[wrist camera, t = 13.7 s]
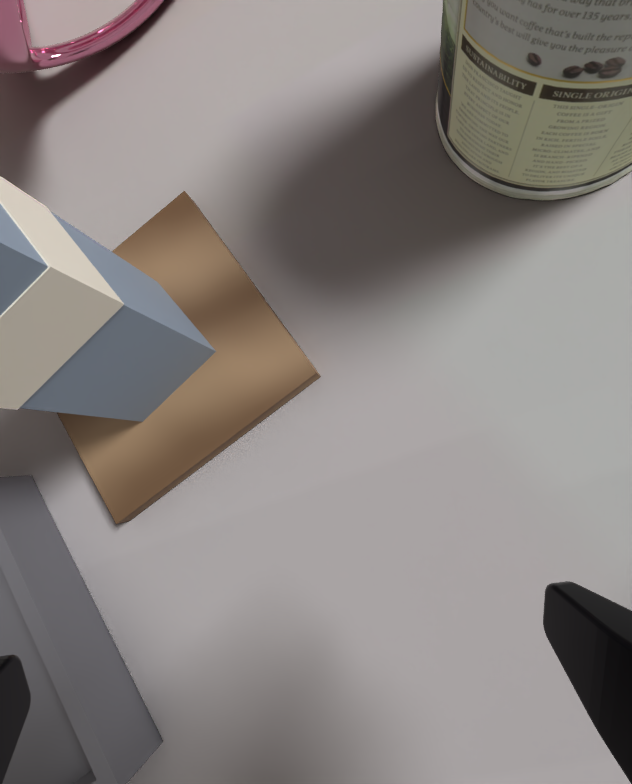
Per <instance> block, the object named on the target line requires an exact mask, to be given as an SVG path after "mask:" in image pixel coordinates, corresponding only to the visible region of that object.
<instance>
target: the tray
mask: <svg viewBox="0 0 632 784" xmlns="http://www.w3.org/2000/svg"><path fill="white" fill-rule="evenodd" d="M5 655H17V656H18V657H19V658H20V659H21V662H22V665H23V669H24V672H25V675H26V679H27V682H28V685H29V689H30V693H31V704H30V709H29V712H28V715H27V718H26V720H25V723H24V726H23V729H22V731H21V734H20V737H19V740H18V742H17V745H16V748H15V751H14V753H13V756H12V759H11V762H10V764H9V767H8V770H7V773H6V775H5V778H4V781H3V784H126V783H127V782H128V781H129V780H130V779H131V778H132V777H133V775H134V774H135V773H136V772H137V771H138V770H139V769H140V767H141V766H142V765H143V764H144V763H145V762H146V760H147V759H148V758H149V757H150V756H151V755H152V754H153V752H154V751H155V750H156V749H157V748H158V747H159V746H160V744H161V743H162V742H163V740H162V738H161V736H160V734H159V732H158V730H157V728H156V726H155V724H154V722H153V720H152V718H151V716H150V714H149V712H148V710H147V708H146V706H145V704H144V702H143V700H142V698H141V696H140V694H139V692H138V690H137V688H136V686H135V683H134V681H133V679H132V677H131V675H130V673H129V671H128V669H127V667H126V665H125V663H124V661H123V659H122V657H121V655H120V653H119V651H118V649H117V647H116V645H115V643H114V641H113V639H112V637H111V635H110V633H109V631H108V629H107V627H106V625H105V623H104V621H103V619H102V617H101V615H100V613H99V611H98V609H97V607H96V605H95V603H94V601H93V599H92V597H91V595H90V593H89V591H88V589H87V587H86V585H85V583H84V581H83V579H82V577H81V575H80V573H79V571H78V569H77V567H76V565H75V563H74V561H73V559H72V557H71V555H70V552H69V550H68V548H67V546H66V544H65V542H64V540H63V538H62V536H61V534H60V532H59V530H58V528H57V526H56V524H55V522H54V520H53V518H52V516H51V514H50V512H49V510H48V508H47V506H46V504H45V502H44V500H43V498H42V496H41V494H40V492H39V490H38V488H37V486H36V484H35V482H34V480H33V478H32V476H31V475H28V476H12V477H0V656H5Z"/></svg>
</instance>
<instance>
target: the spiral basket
mask: <svg viewBox="0 0 632 784" xmlns="http://www.w3.org/2000/svg"><path fill="white" fill-rule="evenodd" d="M164 1H165V0H135V1H134V2H133V3H132V4H131V5H130V6H129V7H128V8H126V9H125V10H124V11H123V12H122V13H120V14H119V15H118V16H116V17H115V18H113V19H112V20H110V21H109V22H107V23H106V24H104V25H102V26H101V27H99V28H97V29H95V30H93V31H91V32H89V33H87V34H85V35H82V36H80V37H77V38H75V39H72V40H69V41H66V42H62V43H58V44H54V45H49V46H42V47H32V42H31V37H30V31H29V26H28V21H27V16H26V11H25V6H24V1H23V0H0V73H22V72H31V71H37V70H43V69H48V68H53V67H58V66H62V65H65V64H69V63H72V62H76V61H79V60H82V59H84V58H87V57H90V56H92V55H94V54H97V53H99V52H101V51H103V50H105V49H107V48H109V47H110V46H112V45H114V44H116V43H117V42H119V41H120V40H122V39H123V38H125V37H126V36H128V35H129V34H130V33H132V32H133V31H134V30H136V29H137V28H138V27H139V26H140V25H142V24H143V23H144V22H145V21H146V20H147V19H148V18H149V17H150V16H151V15H152V14H153V13H154V12H155V11H156V10H157V9H158V8H159V7H160V5H161V4H162V3H163V2H164Z"/></svg>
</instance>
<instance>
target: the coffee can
mask: <svg viewBox="0 0 632 784" xmlns="http://www.w3.org/2000/svg"><path fill="white" fill-rule="evenodd" d="M436 123H437V127H438V132H439V135H440V138H441V141H442V143H443V146H444V148H445V150H446V152H447V154H448V155H449V157H450V158H451V159H452V161H453V162H454V163H455V164H456V165H457V166H458V167H459V169H460V170H461V171H462V172H464V173H465V174H466V175H467V176H468V177H470V178H471V179H472V180H474V181H475V182H477V183H479V184H480V185H482V186H484V187H486V188H488V189H490V190H492V191H495V192H497V193H500V194H503V195H506V196H509V197H513V198H519V199H532V200H556V199H564V198H570V197H574V196H579V195H582V194H586V193H589V192H592V191H594V190H597V189H599V188H601V187H604V186H607V185H609V184H612V183H613V182H615V181H617V180H618V179H619V178H621V177H622V176H624V175H626V174H627V173H629V172H631V171H632V0H443V13H442V28H441V47H440V63H439V82H438V90H437V96H436Z"/></svg>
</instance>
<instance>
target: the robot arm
mask: <svg viewBox="0 0 632 784" xmlns="http://www.w3.org/2000/svg"><path fill="white" fill-rule="evenodd" d="M543 625H544V630H545V633H546V636H547V638H548V640H549V642H550V644H551V646H552V648H553V649H554V651H555V653H556V655H557V657H558V659H559V661H560V662H561V664H562V666H563V668H564V670H565V672H566V674H567V676H568V677H569V679H570V681H571V683H572V685H573V687H574V689H575V691H576V692H577V694H578V696H579V698H580V700H581V702H582V704H583V706H584V707H585V709H586V711H587V713H588V715H589V717H590V718H591V720H592V722H593V724H594V725H595V727H596V729H597V731H598V732H599V734H600V736H601V737H602V739H603V740H604V742H605V744H606V745H607V747H608V748H609V750H610V751H611V753H612V755H613V756H614V758H615V759H616V761H617V762H618V764H619V765H620V767H621V768H622V770H623V772H624V773H625V775H626V776H627V778H628V779H629V781H630V782H631V784H632V611H631V610H629V609H627V608H625V607H623V606H621V605H619V604H617V603H615V602H612V601H610V600H608V599H606V598H604V597H602V596H600V595H598V594H596V593H594V592H592V591H590V590H588V589H586V588H584V587H582V586H580V585H578V584H576V583H573V582H568V581H566V582H559V583H551V584H549V585H548V586H547V587H546V590H545V601H544V616H543ZM30 704H31V693H30V689H29V685H28V682H27V679H26V675H25V672H24V669H23V665H22V662H21V659H20V658H19V657H18V656H17V655H5V656H0V784H3V781H4V778H5V775H6V773H7V770H8V767H9V764H10V762H11V759H12V756H13V753H14V751H15V748H16V745H17V742H18V740H19V737H20V734H21V731H22V729H23V726H24V723H25V720H26V718H27V715H28V712H29V709H30Z"/></svg>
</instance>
